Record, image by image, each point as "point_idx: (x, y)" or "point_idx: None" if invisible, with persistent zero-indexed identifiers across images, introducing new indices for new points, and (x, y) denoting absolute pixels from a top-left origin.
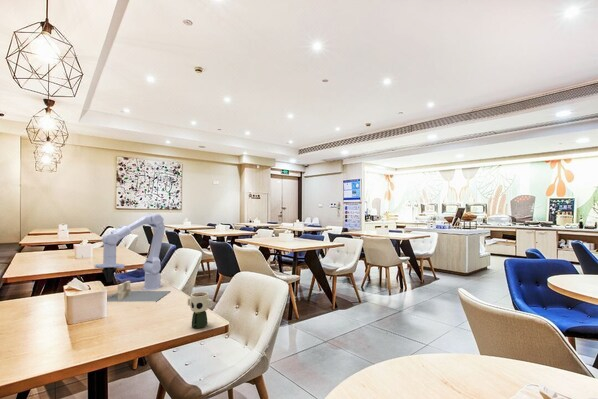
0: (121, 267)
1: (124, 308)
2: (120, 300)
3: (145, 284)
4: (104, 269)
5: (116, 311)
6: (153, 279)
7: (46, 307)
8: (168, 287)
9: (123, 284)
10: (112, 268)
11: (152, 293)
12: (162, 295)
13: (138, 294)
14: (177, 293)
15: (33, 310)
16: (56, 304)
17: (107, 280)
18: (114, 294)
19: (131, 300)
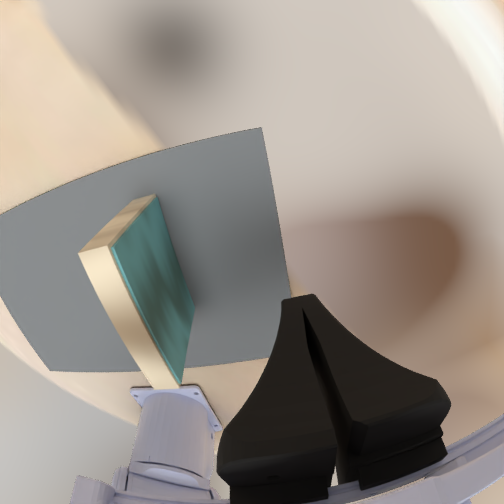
0: (83, 491)
1: (14, 93)
2: (122, 187)
3: (181, 415)
4: (414, 433)
5: (22, 42)
6: (136, 438)
7: (491, 43)
8: (119, 415)
9: (102, 296)
10: (255, 491)
11: (77, 340)
12: (16, 314)
13: None
14: (15, 349)
15: (497, 11)
16: (490, 88)
17: (307, 306)
18: (288, 296)
19: (59, 208)
